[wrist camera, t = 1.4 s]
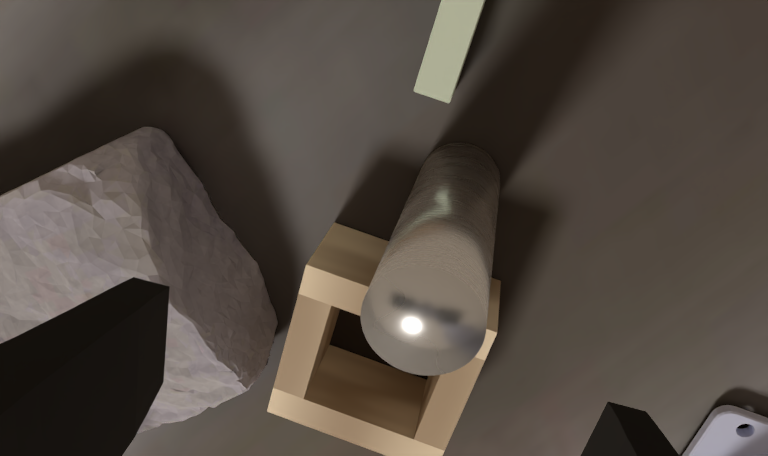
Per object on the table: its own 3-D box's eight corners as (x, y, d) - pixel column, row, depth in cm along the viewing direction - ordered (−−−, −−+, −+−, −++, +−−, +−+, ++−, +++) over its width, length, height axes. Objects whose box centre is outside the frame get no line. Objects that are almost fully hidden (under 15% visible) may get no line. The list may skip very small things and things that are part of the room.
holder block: (501, 280, 21) (497, 332, 18) (444, 410, 23) (434, 473, 20) (334, 222, 21) (306, 264, 18) (296, 356, 23) (267, 411, 21)
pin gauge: (512, 157, 19) (505, 292, 12) (483, 228, 20) (461, 391, 13) (434, 131, 19) (379, 248, 12) (409, 203, 20) (346, 350, 13)
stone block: (320, 311, 25) (154, 87, 20) (289, 413, 21) (74, 164, 16) (98, 383, 29) (-80, 212, 25) (38, 478, 25) (-187, 296, 21)
